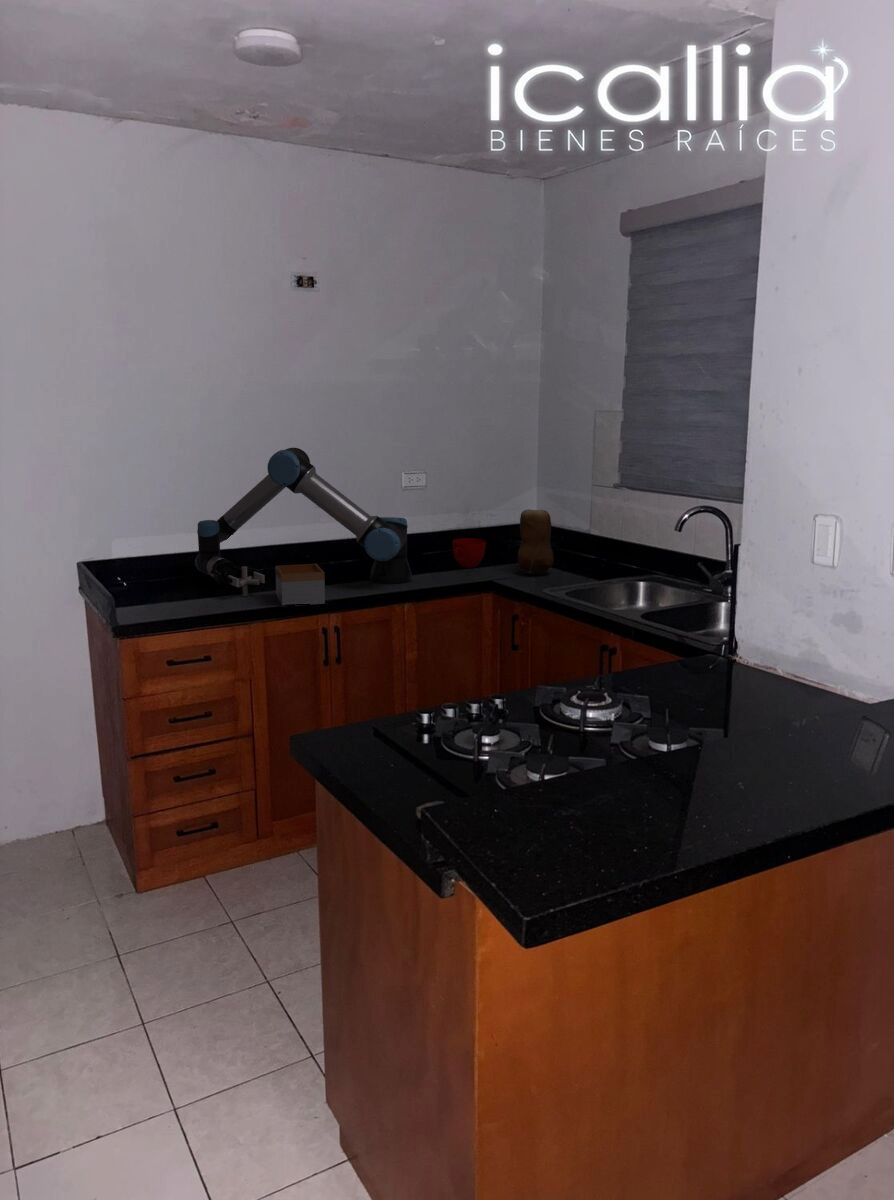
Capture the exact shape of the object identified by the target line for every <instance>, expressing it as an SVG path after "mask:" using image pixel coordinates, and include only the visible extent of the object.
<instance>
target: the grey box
mask: <svg viewBox="0 0 894 1200" xmlns="http://www.w3.org/2000/svg"><path fill="white" fill-rule="evenodd" d="M325 575H326V574H325V571H324V570H323V569H322V568H321V567H320V566H319V565H318V564H317V563H308V564H307V563H305V564H287V565H284V564H283V565H275V592H276V596H277V597H276V599H277V600H278V599H279V600H278V601H280V602H281V603H280V602H279V603H280V605H281V604H282V605H286V604H310V605H324V604H326V595H325V594H326V589H325V588H326V587H325V586H326V585H325V584H326V582H325V581H326V580H325V579H326V578H325ZM282 605H281V606H282Z"/></svg>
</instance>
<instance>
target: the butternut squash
mask: <svg viewBox="0 0 894 1200" xmlns="http://www.w3.org/2000/svg"><path fill="white" fill-rule="evenodd" d="M519 536H520V545H519V548H518V552H517V562H518V563H517V564H518V567H519V569H521V570H522V571H524V572H525V573H526V574H529V575H532V576H542V575H544V574H545V573H546V572H548V570H550V569H551V567H552V566H553V564H554V560H555V559H554V552H553V549H552V546H551V537H552V519H551V515H550V513H549V512H548V511H547V510H546V509H531V508H530V509H525V510H522V512H521V513H520V517H519Z"/></svg>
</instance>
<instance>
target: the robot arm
mask: <svg viewBox="0 0 894 1200" xmlns="http://www.w3.org/2000/svg"><path fill="white" fill-rule="evenodd" d="M316 470H317V469H316V467H315V466H314V465H313V464H311V460H310V457H309V455H308V454H307V453H306V452H305V450H303V449H301V448H300V447H299V448H298V447H288V448H286V449H281V450H278V451H276V452H275V453H274V454H272V455H271V456H270V458H269V460H268V463H267V473H268V474H267V475H266V476H265V477H264V478H263V479H262V480H260V481H259V482H258V483H256V485H255V486H254V487H252V488H251V490H250V491H248V492H247V493H246V494H245V495H243V496H242V498H240V499H239V500H238V501H237V502H236V503H235V504H234V505H232V507H230V508H229V509H228V510H227V511H225V513H224V514H222V516H221V517H219V518H218V519H217V520H214V519H205V520H200V521H198V522H197V529H196V531H197V532H196V534H197V544H198V546H197V547H198V554H197V555H196V557H195V559H194V565H195V568H196V569H197V570H198V571H200V573H203V574H205V575H208V576H210V579H213V580H214V581H215V582H216V583H217V584H222V583H223V584H224V586H228V585H232V586H233V587H236V588H240V587H239V579H238V578H242V567H239V566H238V567H237V565H235V563H233V562H232V561H231V560H229V559H227V558H224V557H221V543H223V542H225V541H227V539H228V538H229V537H230V536H231V535H234V534H235V533H236V532H237V531H238V530H239V529H240V528H241V527H243V526H244V525H245V524H246V523H247V522H248V521H249V520H250V519H252V518H253V517H254V516H255V515H257V513H259V512H260V510H262V509H264V507H265V506H267V505H268V504H269V502H272V500H273V499H274V498H276V496H278V495H279V494H280V493H281V492H282V491H283V490H284V489H286V488H287V489H288V490H289V491H291V492H292V493H294V494H301V495H303V496H304V497H306V498H307V499H308V500H309V501H311V502H312V503H313V504H315V505H316V506H317V507H318V508H320V509H321V510H323V512H325V513H326V514H327V515H328V516H330V517H331V518H333V519H334V520H336V521H337V522H338V523H339V524H340V525H342V526H343V527H344V528H345V529H347V530H348V531H349V532H351V533H352V534H353V535H355V537H356V543H358V544H359V545H360V546H361V547H363V548H364V549H365V551H366V554H367V555H368V556H369V558H372V559H373V561H374V562H373V564H372V568H371V571H370V574H369V575H370V576H369V577H370V581H372V582H374V583H379V584H390V585H391V584H404V583H408V582H411V581H412V571H411V567H410V564H409V561H408V527H409V526H408V521H407V519H406V518H405V517H391V516H390V517H389V516H385V517H384V516H378V515H370V514H369V513H367V511H365V510H364V509H362V508H361V507H360V506H358V505H357V504H356V503H355V502H353V501H352V500H351V499H349V498H348V497H347V496H346V495H344V494H343V493H341V491H339V490H338V489H337V488H335V487H333V485H332V484H330V483H329V482H328V481H326V480H325V479H324V478H323V477H321V476H320V475H319V474H317V472H316ZM229 539H230V538H229ZM229 539H228V540H229ZM246 567H247V577H249V576H252V577H253V579H257V580H260V583H261V584H265V583H266V581H265V579H266V577H265V576H266V575H265V574H263V571H262V569H256V568H251V567H249V566H246Z"/></svg>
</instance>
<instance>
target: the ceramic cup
mask: <svg viewBox="0 0 894 1200" xmlns="http://www.w3.org/2000/svg"><path fill="white" fill-rule="evenodd" d="M486 543H487V542H486V540H485V539H480V538H474V537H473V538H472V537H471V538H470V537H464V538H456V539H453V540H452V551H453V557H454V559H455V561H456V563H458V565H459V566H460V567H461V568H465V569H466V568H467V569H468V568H469V569H473V568H477V567H478V566H479V565H480V563H481V562H482V561H483V559H484V556H485V551H486V545H487V544H486Z"/></svg>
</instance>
